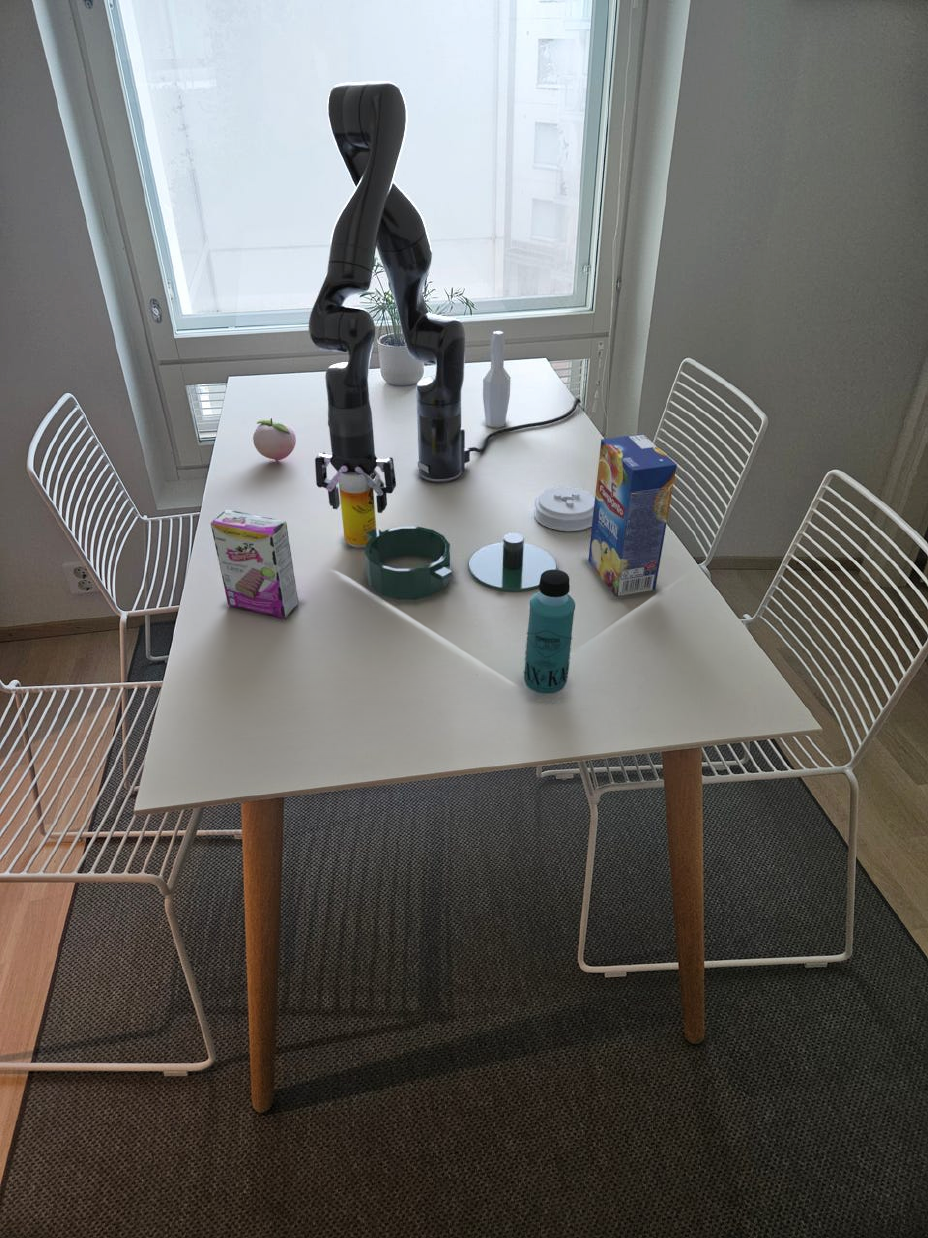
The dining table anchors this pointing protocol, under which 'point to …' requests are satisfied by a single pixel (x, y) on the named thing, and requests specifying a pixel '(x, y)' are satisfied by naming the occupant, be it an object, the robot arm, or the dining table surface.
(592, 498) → the lid
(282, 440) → the decorative fruit
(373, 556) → the pot
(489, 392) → the low poly bottle
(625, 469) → the juice carton
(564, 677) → the beverage bottle
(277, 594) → the candy bar box
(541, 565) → the pot lid
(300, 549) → the dining table surface
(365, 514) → the beer can
